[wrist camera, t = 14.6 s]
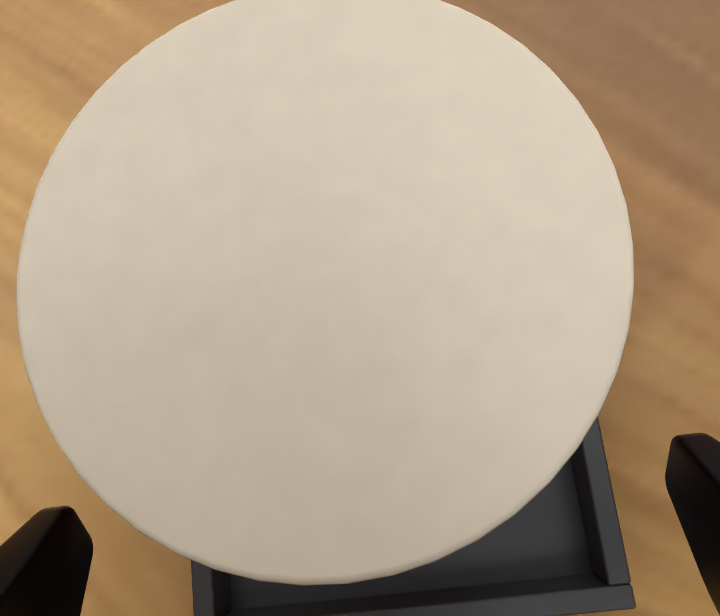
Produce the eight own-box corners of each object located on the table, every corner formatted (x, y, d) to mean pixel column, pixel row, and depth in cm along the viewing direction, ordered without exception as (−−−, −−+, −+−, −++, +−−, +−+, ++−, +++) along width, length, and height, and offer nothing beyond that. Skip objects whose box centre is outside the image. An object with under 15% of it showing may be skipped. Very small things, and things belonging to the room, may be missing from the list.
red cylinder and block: (508, 470, 18) (712, 545, 5) (283, 497, 18) (9, 623, 6) (460, 193, 20) (532, -206, 7) (259, 223, 20) (16, -105, 8)
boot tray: (612, 589, 17) (637, 609, 15) (218, 628, 18) (194, 652, 16) (515, 92, 21) (525, 56, 19) (191, 142, 21) (168, 113, 20)
